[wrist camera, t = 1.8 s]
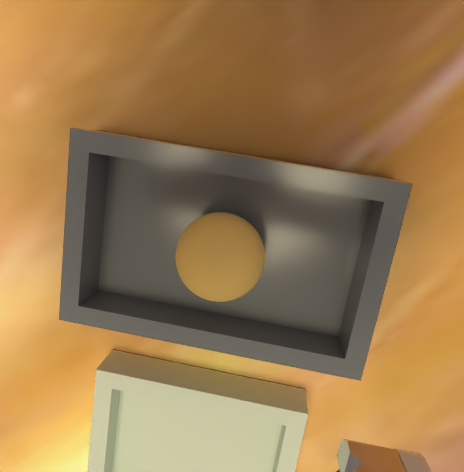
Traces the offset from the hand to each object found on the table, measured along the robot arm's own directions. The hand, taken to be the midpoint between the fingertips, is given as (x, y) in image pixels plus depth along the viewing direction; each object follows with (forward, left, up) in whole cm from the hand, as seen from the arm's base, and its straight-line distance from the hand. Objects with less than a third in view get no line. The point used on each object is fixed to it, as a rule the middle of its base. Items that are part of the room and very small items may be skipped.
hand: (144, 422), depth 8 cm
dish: (0, 0, -15) cm, 15 cm away
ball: (0, 0, -14) cm, 14 cm away
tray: (+13, 0, -15) cm, 19 cm away
